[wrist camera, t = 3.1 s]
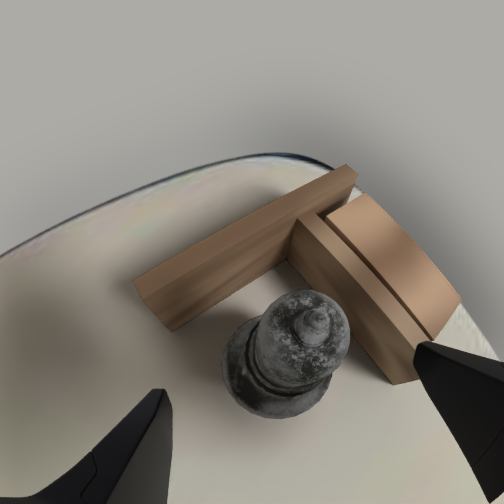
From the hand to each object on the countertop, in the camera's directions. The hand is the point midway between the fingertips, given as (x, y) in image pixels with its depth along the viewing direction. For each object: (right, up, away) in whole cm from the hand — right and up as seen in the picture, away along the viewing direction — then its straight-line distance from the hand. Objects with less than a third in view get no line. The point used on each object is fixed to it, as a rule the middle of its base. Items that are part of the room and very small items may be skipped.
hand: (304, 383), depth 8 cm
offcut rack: (+2, -1, +10) cm, 10 cm away
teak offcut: (+7, +3, +9) cm, 12 cm away
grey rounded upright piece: (0, -3, +9) cm, 9 cm away
